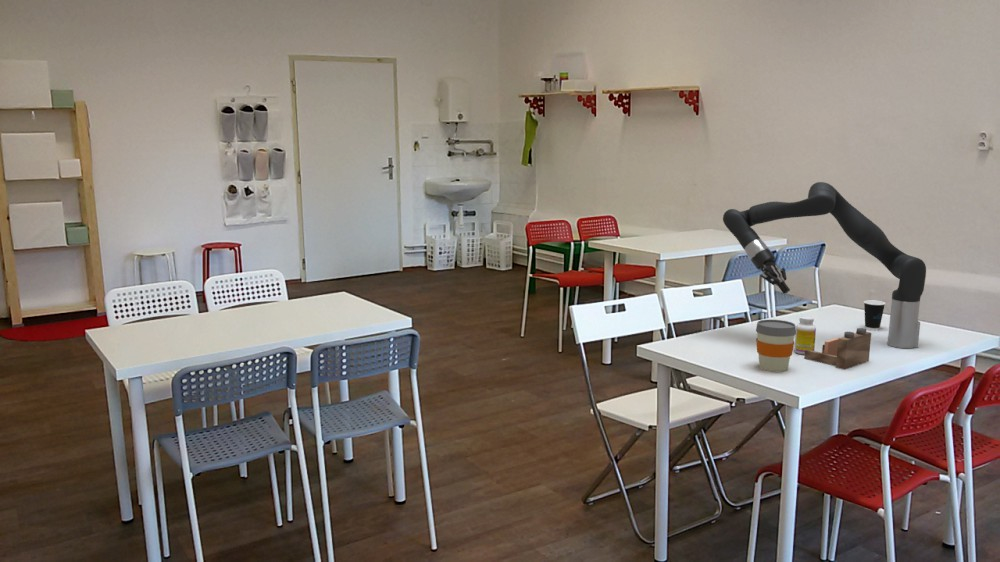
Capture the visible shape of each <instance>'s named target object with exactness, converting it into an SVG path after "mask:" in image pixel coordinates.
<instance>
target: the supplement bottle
mask: <svg viewBox="0 0 1000 562" xmlns="http://www.w3.org/2000/svg"><path fill="white" fill-rule="evenodd" d="M814 320H815V319H814V317H812V316H803V315H802V316H799V323H797V324H796V334H795V336H794V347H793V351H794V353H796V354H798V355H804V356H805V350H807V349H808V350H812V351H815V345H816V331H817V327H816V326H815V325H814V322H815V321H814Z"/></svg>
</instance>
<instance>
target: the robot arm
mask: <svg viewBox="0 0 1000 562" xmlns="http://www.w3.org/2000/svg"><path fill="white" fill-rule="evenodd" d="M828 214H830V215H832V216H833V217H834V219H835V220H836V221H837V223H838V224H839V226H840V227H841V230H842V231H843V232H844V233H845V234H846V236H847V237H848V238H849V239H851V241H852V242H853V243H855V244H856V245H857V246H859V247H860V248H861V249H863V250H864V251H865V252H866V253H868V254H869V255H871V256H873V257H874V258H876V259H877V260H878V261H879V262H880V263H881V264H882V265H883V266H884V268H886V269H887V270H888V271H889V272H890V273H891V274H892V275H893V276H894V277H895V278H897V279H898V280H899V283H898V287H897V288H896V289H894V290H893V291H892V293H891V303H890V304H891V305H890V313H889V315H890V316H889V325H888V335H887V345H889V346H890V347H894V348H900V349H914V348H918V347H919V339H920V332H921V331H920V330H921V329H920V328H921V322H920V321H919V314H920V304H921V298H922V295H923V294H924V293H923V292H924V290H925V283H926V277H927V266H926V263H925V261H923V259H921V258H919V257H915V256H912V255H909V254H907V253H905V252H904V251H902V250H901V249H899V248H898V247H896V246H895V245H894V244H893V243H892V242H891V241H890V239H889V238H888V237H887V235H886V234H885V232H884V231H883V230H882V229H881V227H879V226H878V225H877V224H876V223H874V222H873V221H872V220H871V219H870V218H868V217H867V216H865V215H864V214H863V213H862V212H861V211H860V210H859V209H857V208H856V207H854V206H853V205H852V204H851V203H850V202H849V201H848V200H846V198H844V197H843V195H842V194H841V193H840V192H839V191H838V190H837V189H836V188H835V187H834V186H833V185H831V184H830V183H827V182H825V181H818V182H815V183H813V184H812V185H811V186H810V188H809V189H808V194H807V198H805V199H802V200H798V201H794V202H793V201H792V202H784V201H768V202H763V203H759V204H755V205H752V206H750V207H749V209H746V210H741V211H740V210H738V209H737V208H731V209H727V210H726V211H725V212H724V214H723V216H722V222H723V223H724V226H725V227H726V228H727V229H728V230H729V232H730V233H731V234H732V235H733V236H734V237H735V239H736V240H737V241H738V244H739V245H740V246H741V247H742V249H743V250H744V251H745V253H746V255H747V257H748V258H749V260H750V261H751V263H752V264H753V265H754V267H755V268H756V270H759V271H761V272H762V273H761V274H760V277H761V278H762V279H763V280H765V281H767V282H768V283H770V284H771V285H772V286H774V285H775V286H777V287H778V288H779V289H780V291H781V292H782V293H783V294H784V295H785V294H788V292H790V290H791V289H790V288H789V286H788V284H787V283H786V280H787V279H788V278H787V274H786V273H787V271H786V269H785V268H784V267H782V268H781V267H779V265H778V264H777V263H776V262H775V261H776V257H775V256H774V254H773V252H772V251H771V249H770V248H769V247H768V245H767V244H766V243H765V242H764V241H763V240H762V238H761V237H760V236H759V234H758V233H757V232H756V231H755V229H753V228H752V226H753V227H754V226H755V225H759V224H765V223H768V222H773V221H777V220H784V219H791V218H792V219H793V218H801V217H802V218H803V217H816V216H817V217H819V216H824V215H828ZM913 347H914V348H913Z"/></svg>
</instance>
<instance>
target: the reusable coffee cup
mask: <svg viewBox="0 0 1000 562" xmlns="http://www.w3.org/2000/svg"><path fill="white" fill-rule="evenodd" d="M796 326H797V324H795V323H793V322H791V321H787V320H780V319H761V320H758V321H757V322H756V328H755V332H756V335H757V336H756V338H755V342H756V343H755V344H756V352H757V354H758V367H759V368H760V369H761V368H762V369H761V370H764V369H765V370H764V371H769V372H776V371H780V372H785V370H786V371H787V370H788V368H789V363H790V359H791V356H792V355H793V351H794V348H795V334H796Z"/></svg>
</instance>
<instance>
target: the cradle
mask: <svg viewBox="0 0 1000 562" xmlns="http://www.w3.org/2000/svg"><path fill="white" fill-rule="evenodd" d="M843 333H844V334H843V336H842V337H837V338H838V350H837V356H834V355H830V354H825V353H824V349H825V343H824V344H822V347H821V349H822V351H821V352H820V351H815V350H814V351H812V350H808V349H807V350H805V355H804V359H805V360H809V361H814V362H818V363H821V362H822V364H827V365H831V366H834V367H835V368H837V369H841V370H848V369H850V368H853V367H856V366H858V365H861V364H864V363H867V362H869V361H870V354H871V353H870V350H871V341H872V332H871V331H870V332H869V331H867V329H866V328H864V327H863V328H862V327H856V332H854V331H844V332H843Z"/></svg>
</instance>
